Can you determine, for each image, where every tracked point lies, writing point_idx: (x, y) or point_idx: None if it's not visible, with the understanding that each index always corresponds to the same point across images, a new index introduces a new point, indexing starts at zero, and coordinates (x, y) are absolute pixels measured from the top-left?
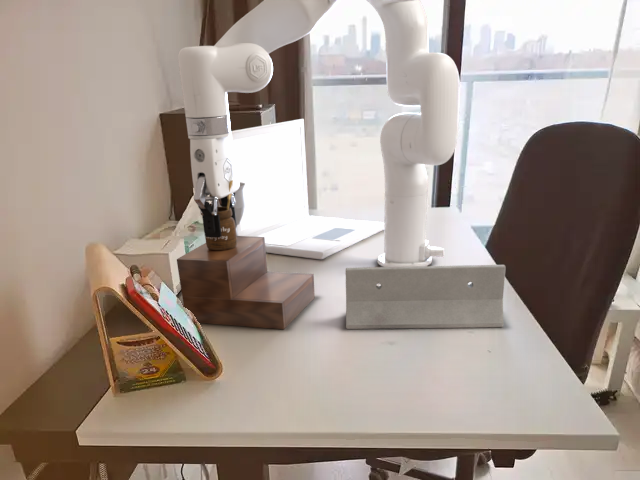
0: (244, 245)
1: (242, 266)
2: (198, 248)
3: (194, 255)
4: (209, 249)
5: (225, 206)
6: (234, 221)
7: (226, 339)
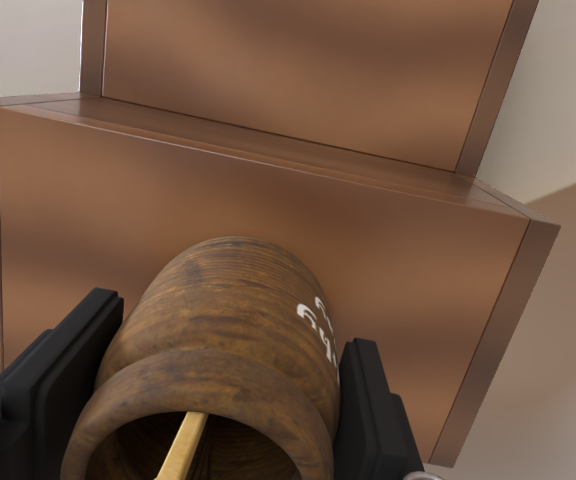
0: (197, 193)
1: (349, 165)
2: None
3: None
4: None
5: (26, 466)
6: (196, 305)
7: (563, 156)
